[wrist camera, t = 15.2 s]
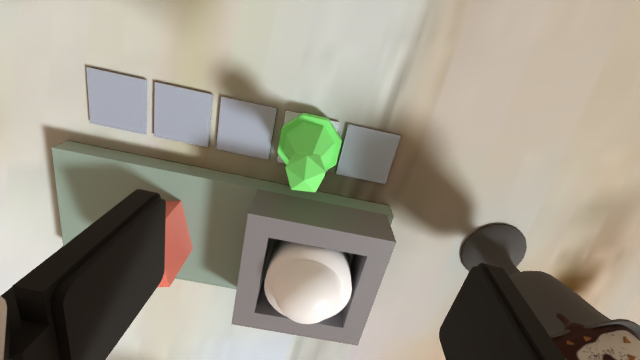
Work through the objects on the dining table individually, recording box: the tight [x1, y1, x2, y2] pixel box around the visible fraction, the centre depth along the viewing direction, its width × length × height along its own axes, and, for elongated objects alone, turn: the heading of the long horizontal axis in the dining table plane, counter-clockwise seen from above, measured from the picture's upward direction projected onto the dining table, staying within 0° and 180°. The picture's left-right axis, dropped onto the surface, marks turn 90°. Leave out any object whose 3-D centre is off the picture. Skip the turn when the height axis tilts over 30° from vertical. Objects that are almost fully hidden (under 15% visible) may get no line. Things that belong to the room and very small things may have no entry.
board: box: [52, 141, 396, 345], centre depth 23 cm, size 9×23×5 cm, turn 78°
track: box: [86, 67, 401, 184], centre depth 22 cm, size 4×20×1 cm, turn 78°
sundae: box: [461, 224, 640, 360], centre depth 19 cm, size 7×7×15 cm
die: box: [158, 201, 193, 287], centre depth 22 cm, size 4×4×4 cm
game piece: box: [277, 113, 342, 192], centre depth 20 cm, size 4×4×6 cm
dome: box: [264, 240, 352, 324], centre depth 21 cm, size 6×6×5 cm
